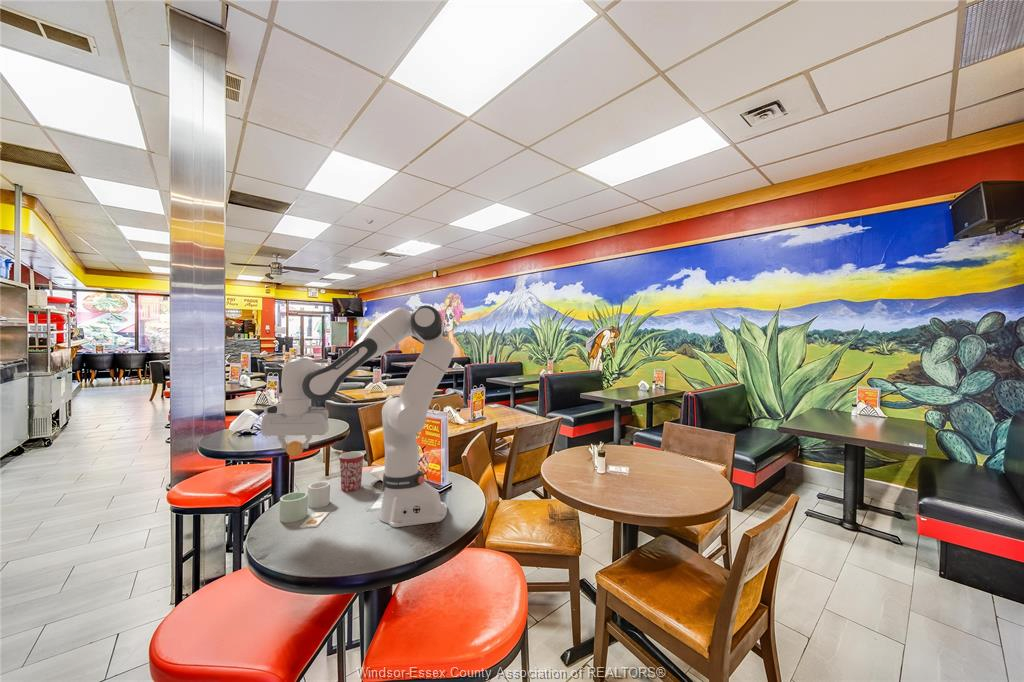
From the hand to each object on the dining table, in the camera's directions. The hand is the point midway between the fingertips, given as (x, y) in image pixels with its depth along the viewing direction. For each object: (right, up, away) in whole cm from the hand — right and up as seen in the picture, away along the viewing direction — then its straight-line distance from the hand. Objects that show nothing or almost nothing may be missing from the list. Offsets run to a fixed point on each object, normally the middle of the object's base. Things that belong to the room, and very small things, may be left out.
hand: (295, 448), depth 123 cm
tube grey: (+3, -23, +10) cm, 25 cm away
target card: (+8, -23, -3) cm, 24 cm away
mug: (+8, -24, +27) cm, 36 cm away
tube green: (0, -23, 0) cm, 23 cm away
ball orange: (0, -3, 0) cm, 3 cm away
